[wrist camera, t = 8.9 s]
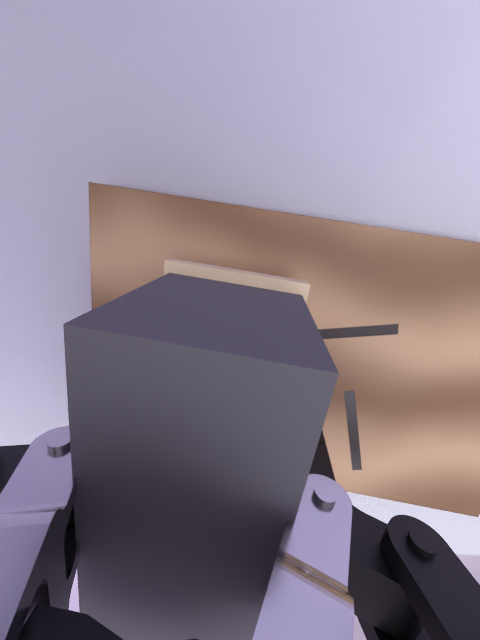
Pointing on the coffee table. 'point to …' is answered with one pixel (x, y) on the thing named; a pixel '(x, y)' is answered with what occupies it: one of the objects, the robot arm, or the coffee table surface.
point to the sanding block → (191, 446)
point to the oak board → (339, 326)
